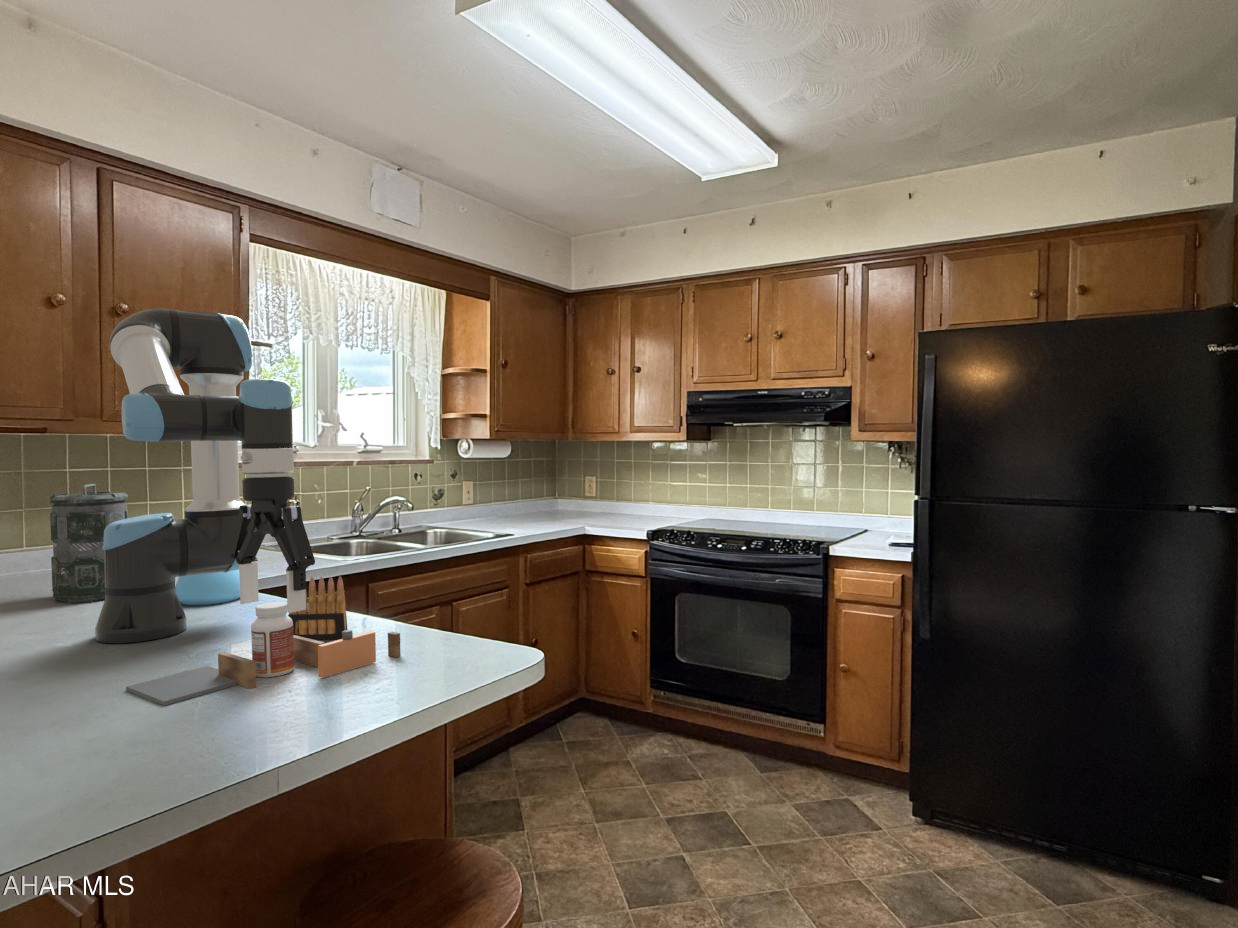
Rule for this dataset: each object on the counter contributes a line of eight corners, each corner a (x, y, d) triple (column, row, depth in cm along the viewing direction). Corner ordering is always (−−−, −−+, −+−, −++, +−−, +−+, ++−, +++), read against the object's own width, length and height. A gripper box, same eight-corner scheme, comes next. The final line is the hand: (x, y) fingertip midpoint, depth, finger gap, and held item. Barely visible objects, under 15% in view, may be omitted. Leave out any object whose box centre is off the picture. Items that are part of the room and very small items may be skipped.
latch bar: (317, 676, 115) (316, 637, 115) (370, 660, 124) (369, 624, 123) (323, 678, 114) (322, 639, 114) (376, 661, 123) (375, 625, 123)
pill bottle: (297, 665, 122) (296, 599, 122) (290, 676, 116) (289, 607, 116) (257, 668, 121) (255, 602, 120) (248, 680, 115) (246, 610, 114)
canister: (122, 600, 176) (118, 484, 175) (42, 606, 170) (38, 487, 169) (138, 588, 190) (135, 481, 190) (65, 593, 185) (61, 483, 184)
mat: (126, 690, 110) (126, 686, 110) (207, 669, 120) (207, 665, 120) (164, 705, 104) (164, 701, 104) (246, 681, 114) (246, 678, 114)
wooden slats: (218, 678, 115) (217, 653, 115) (346, 643, 135) (346, 622, 135) (271, 695, 107) (271, 669, 107) (400, 655, 127) (400, 633, 126)
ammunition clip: (348, 637, 140) (346, 575, 139) (345, 639, 138) (343, 576, 137) (291, 638, 139) (289, 576, 139) (287, 641, 137) (285, 578, 137)
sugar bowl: (159, 605, 170) (158, 556, 170) (209, 592, 185) (208, 547, 184) (213, 608, 167) (211, 557, 166) (260, 594, 181) (258, 548, 181)
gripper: (204, 476, 121) (209, 603, 122) (291, 476, 107) (295, 619, 108) (249, 474, 127) (252, 595, 128) (336, 474, 114) (340, 609, 114)
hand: (272, 606), depth 118 cm, fingers open, 13 cm apart
